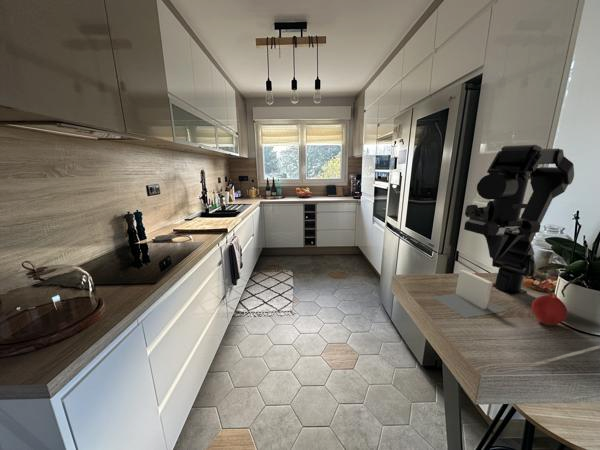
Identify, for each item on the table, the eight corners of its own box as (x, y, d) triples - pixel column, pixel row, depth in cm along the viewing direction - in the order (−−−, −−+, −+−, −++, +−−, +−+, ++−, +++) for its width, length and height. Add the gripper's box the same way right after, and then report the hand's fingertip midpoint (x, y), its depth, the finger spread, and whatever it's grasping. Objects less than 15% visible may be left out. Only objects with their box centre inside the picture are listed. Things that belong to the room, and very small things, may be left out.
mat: (470, 292, 72) (471, 291, 72) (507, 311, 63) (508, 310, 63) (431, 298, 68) (431, 296, 68) (464, 319, 59) (464, 318, 59)
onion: (529, 314, 62) (537, 284, 60) (562, 325, 58) (571, 293, 56) (526, 323, 58) (535, 292, 56) (562, 336, 54) (572, 302, 52)
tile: (459, 293, 71) (464, 269, 69) (487, 308, 63) (493, 282, 62) (455, 293, 70) (459, 270, 69) (482, 309, 63) (488, 283, 61)
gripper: (502, 194, 72) (490, 246, 76) (451, 194, 67) (441, 250, 71) (549, 199, 62) (533, 259, 66) (493, 200, 57) (479, 265, 60)
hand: (495, 257), depth 66 cm, fingers closed
